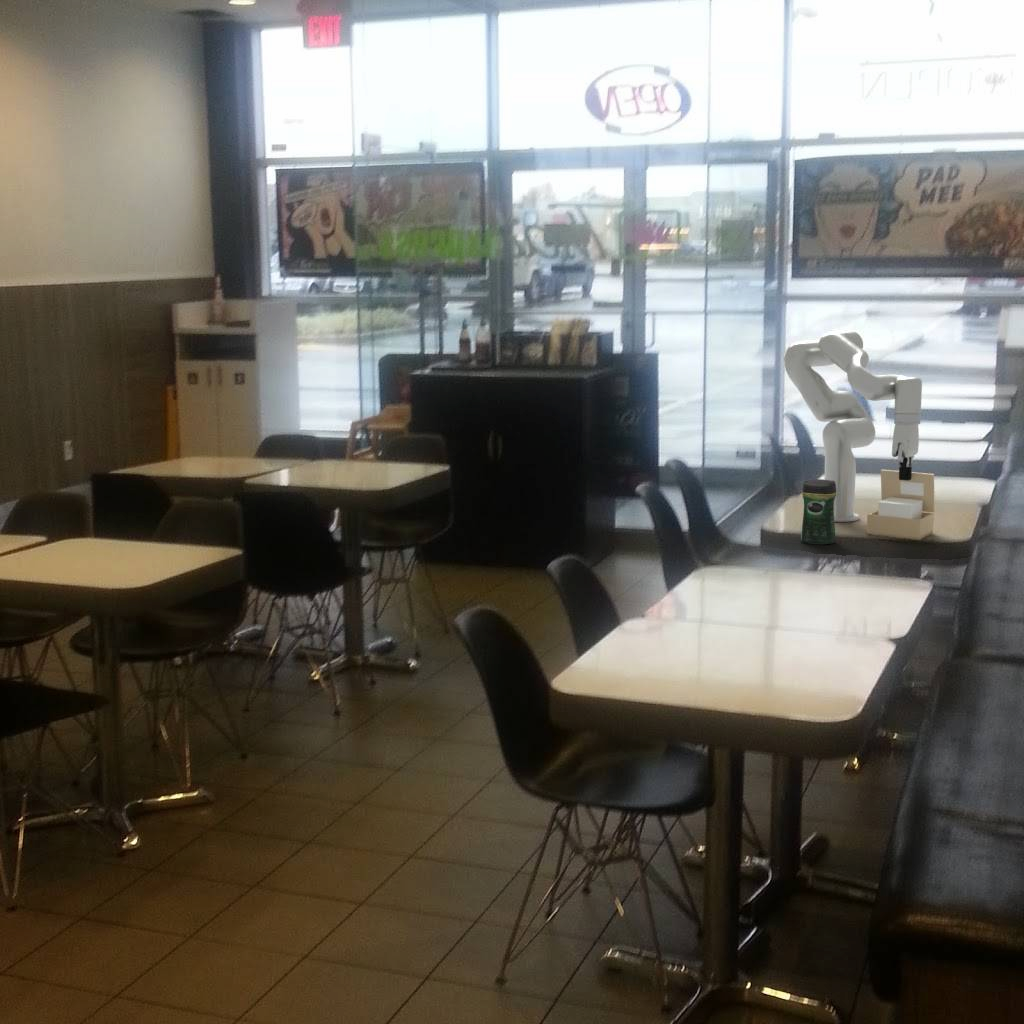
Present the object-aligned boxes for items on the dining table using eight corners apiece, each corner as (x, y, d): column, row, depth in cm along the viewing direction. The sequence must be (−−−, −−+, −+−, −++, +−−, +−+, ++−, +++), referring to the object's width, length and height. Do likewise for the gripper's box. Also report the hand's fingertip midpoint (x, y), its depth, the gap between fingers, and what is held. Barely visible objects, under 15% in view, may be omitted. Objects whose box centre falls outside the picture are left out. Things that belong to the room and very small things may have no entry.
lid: (880, 470, 404) (881, 469, 405) (881, 507, 408) (882, 506, 409) (933, 474, 395) (934, 474, 396) (933, 512, 399) (934, 511, 400)
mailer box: (866, 534, 400) (868, 501, 398) (880, 527, 410) (882, 495, 408) (919, 540, 391) (921, 506, 389) (932, 533, 400) (934, 500, 399)
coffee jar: (837, 541, 391) (840, 478, 388) (830, 546, 384) (832, 482, 381) (805, 538, 396) (807, 476, 392) (797, 543, 389) (799, 480, 385)
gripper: (904, 415, 403) (901, 475, 407) (885, 420, 391) (883, 482, 395) (928, 416, 399) (926, 477, 402) (910, 422, 387) (908, 484, 390)
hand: (905, 479), depth 398 cm, fingers closed
